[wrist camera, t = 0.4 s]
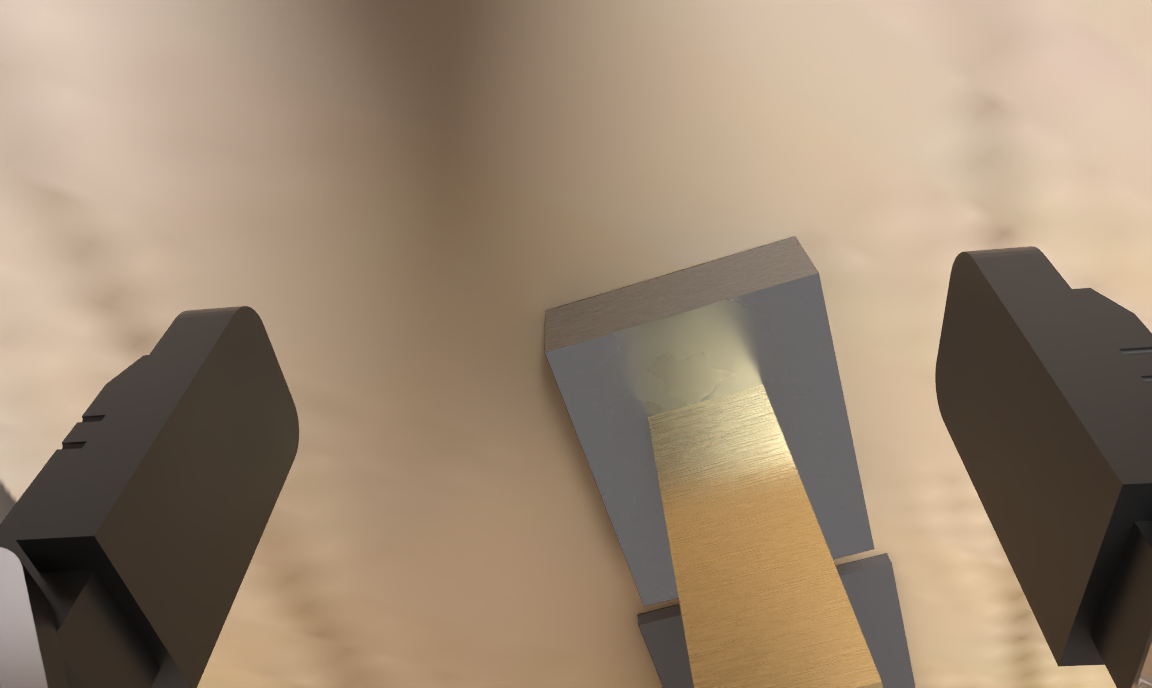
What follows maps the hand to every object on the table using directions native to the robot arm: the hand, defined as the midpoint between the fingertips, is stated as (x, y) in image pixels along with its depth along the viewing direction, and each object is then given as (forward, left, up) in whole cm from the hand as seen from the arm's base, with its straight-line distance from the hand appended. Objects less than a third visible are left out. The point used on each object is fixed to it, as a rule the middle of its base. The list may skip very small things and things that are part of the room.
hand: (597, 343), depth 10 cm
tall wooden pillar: (+14, +1, -16) cm, 21 cm away
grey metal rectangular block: (+14, +1, -19) cm, 24 cm away
